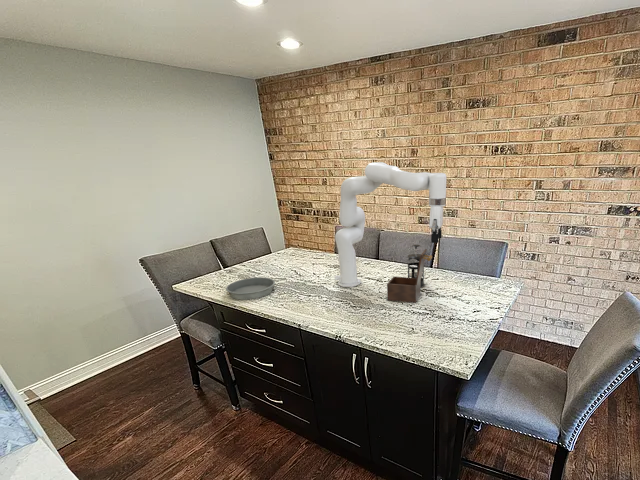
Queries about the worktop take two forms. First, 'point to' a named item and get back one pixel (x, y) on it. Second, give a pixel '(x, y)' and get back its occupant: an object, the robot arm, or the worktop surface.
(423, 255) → the lid
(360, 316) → the worktop surface
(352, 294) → the worktop surface
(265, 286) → the cake pan
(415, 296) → the caddy
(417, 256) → the french press
